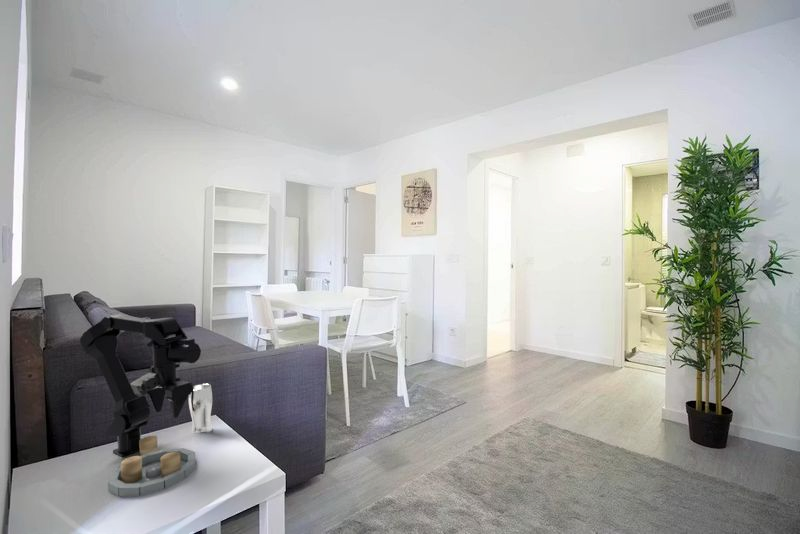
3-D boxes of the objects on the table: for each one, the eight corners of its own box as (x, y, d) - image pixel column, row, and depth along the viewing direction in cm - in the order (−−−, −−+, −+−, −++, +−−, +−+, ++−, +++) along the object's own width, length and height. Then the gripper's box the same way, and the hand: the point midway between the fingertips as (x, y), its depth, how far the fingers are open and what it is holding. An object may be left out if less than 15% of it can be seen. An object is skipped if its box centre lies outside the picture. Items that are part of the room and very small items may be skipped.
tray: (95, 486, 97) (94, 475, 97) (171, 452, 114) (171, 442, 114) (133, 509, 88) (133, 496, 88) (210, 468, 104) (210, 458, 104)
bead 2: (136, 457, 112) (136, 440, 112) (152, 450, 115) (152, 434, 115) (144, 461, 109) (144, 443, 109) (160, 454, 113) (160, 437, 113)
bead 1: (143, 472, 101) (142, 454, 101) (141, 481, 97) (140, 461, 97) (122, 478, 99) (121, 458, 99) (120, 486, 95) (119, 466, 95)
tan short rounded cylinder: (157, 477, 99) (157, 458, 99) (175, 468, 103) (174, 450, 103) (167, 481, 97) (166, 462, 97) (184, 473, 101) (183, 454, 100)
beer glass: (191, 429, 129) (189, 385, 129) (214, 425, 132) (212, 382, 132) (188, 438, 123) (187, 391, 123) (212, 433, 126) (211, 388, 125)
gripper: (117, 365, 110) (120, 418, 110) (152, 373, 100) (155, 432, 100) (158, 355, 119) (160, 405, 120) (193, 362, 110) (196, 416, 110)
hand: (167, 414), depth 112 cm, fingers open, 9 cm apart
